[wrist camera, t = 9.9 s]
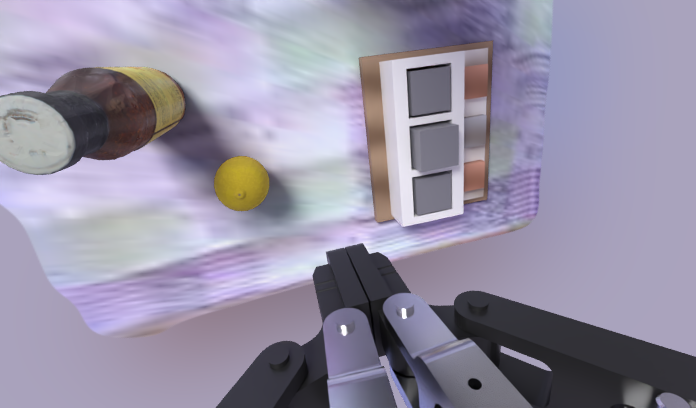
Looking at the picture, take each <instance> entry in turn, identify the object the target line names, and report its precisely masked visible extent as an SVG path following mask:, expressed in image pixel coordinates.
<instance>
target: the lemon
mask: <svg viewBox="0 0 696 408" xmlns="http://www.w3.org/2000/svg"><path fill="white" fill-rule="evenodd" d="M214 188H215V192H216V195H217V197H218V199H219V200H220V201H221V202H222V203H223V204H224V205H225V206H226V207H228V208H230V209H233V210H236V211H248V210H251V209H253V208H255V207H257V206H258V205H260V204H261V202H262V201H263V200H264V199H265V197H266V195H267V193H268V190H269V177H268V174H267V171H266V170H265V168H264V167H263V165H261V164H260V163H259V162H258V161H256V160H255V159H253V158H250V157H247V156H238V157H233V158H231V159H228V160H226V161H225V162H224V163H223V164H222V165H221V166H220V167H219V169H218V170H217V172H216V175H215V178H214Z"/></svg>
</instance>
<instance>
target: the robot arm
mask: <svg viewBox="0 0 696 408" xmlns="http://www.w3.org/2000/svg"><path fill="white" fill-rule="evenodd" d="M326 255H327V261H328V264H327V265H323V266H319V267H316V269H315V271H314V274H313V280H314V285H315V289H316V294H317V299H318V303H319V308H320V313H321V317H322V321H323V325H322V328H321V330H320V332H319V334H318V335H317V336H316V337H315V338H313V339H312V340H311V341H309V342H308V343H306V344H304V345H302V346H300V345H299V344H297V343H295V342H292V341H282V342H277V343H275V344H272V345H270V346H269V347H267V348H266V349H265V350H264V351H262V352H261V353H260V355H259V356H258V357H257V358H256V359H255V361H254V362H253V363H252V364H251V365H250V367H249V368H248V369H247V370H246V372H245V373H244V374H243V376H241V378H240V379H239V380H238V382H237V383H236V384H235V385H234V386H233V387H232V389H231V390H230V391H229V392H228V394H227V395H226V396H225V397H224V398H223V400H222V401H221V402H220V403H219V404H218V406H217V407H216V408H397V405H396V402H395V399H394V396H393V392H392V389H391V386H390V383H389V380H388V376H387V373H386V370H385V368H384V366H381V363H380V360H379V357H380V356H384V355H386V356H387V358H388V360H389V365H390V373H391V376H392V378H393V380H394V382H395V384H396V386H397V388H398V390H399V392H400V394H401V396H402V398H403V400H404V402H405V404H406V406H407V408H696V357H694V356H691V355H688V354H685V353H681V352H678V351H675V350H671V349H668V348H665V347H662V346H659V345H655V344H652V343H648V342H645V341H642V340H639V339H636V338H632V337H629V336H626V335H622V334H619V333H616V332H613V331H609V330H606V329H603V328H600V327H596V326H593V325H590V324H587V323H583V322H580V321H577V320H574V319H570V318H567V317H564V316H560V315H557V314H554V313H551V312H547V311H544V310H540V309H538V308H534V307H531V306H528V305H524V304H521V303H518V302H515V301H511V300H508V299H505V298H502V297H499V296H495V295H492V294H489V293H485V292H481V291H467V292H464V293H461V294H460V295H458V296H457V297H456V299H455V301H454V305H453V306H432V305H428V304H427V303H426V302H425V301H424V300H423V299H422V298H421V297H420V296H418V295H415V294H411V292H410V291H409V289H408V288H407V286H406V285H405V283H404V282H403V280H402V279H401V277H400V276H399V274H398V273H397V272H396V270H395V268H394V267H393V266H392V264H391V262H390V261H389V259H388V258H387V257H386V256H384V255H382V254H381V253H379V252H376V253H372V254H369V253H368V251H367V250H366V248H365V246H364V245H363V243H361V244H357V245H353V246H349V247H345V249H344V248H340V249H336V250H332V251H328V252H326ZM501 346H504V347H506V348H509V349H512V350H514V351H517V352H519V353H522V354H524V355H527V356H529V357H532V358H535V359H537V360H540V361H542V362H543V363H545V364H546V365H547V366H548V367H549V368H550V369H551V370H552V371H546V370H544V369H541V368H539V367H536V366H534V365H531V364H529V363H526V362H523V361H521V360H519V359H516V358H514V357H511V356H509V355H506V354H504V353H501V352H500V349H501Z"/></svg>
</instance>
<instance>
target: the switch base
mask: <svg viewBox="0 0 696 408" xmlns="http://www.w3.org/2000/svg"><path fill="white" fill-rule="evenodd" d="M457 51H465V69H464V196H463V204H467V203H472V202H477V201H482V200H486V199H487V191H488V164H489V136H490V109H491V81H492V54H493V41H486V42H478V43H470V44H462V45H454V46H446V47H438V48H431V49H423V50H415V51H407V52H399V53H391V54H383V55H375V56H368V57H360V58H359V65H360V75H361V85H362V94H363V104H364V114H365V124H366V134H367V144H368V154H369V164H370V174H371V184H372V194H373V204H374V213H375V220H376V221H377V223H378V222H383V221H388V220H392V219H395V218H394V217H393V216H392V215H391V203H390V190H389V178H388V166H387V153H386V141H385V128H384V116H383V103H382V91H381V78H380V66H379V62H382V61H389V60H396V59H404V58H411V57H419V56H427V55H434V54H442V53H450V52H457ZM432 67H434V65H431V66H424V67H417V68H409V69H406V71H410V70H417V69H424V68H432Z"/></svg>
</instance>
